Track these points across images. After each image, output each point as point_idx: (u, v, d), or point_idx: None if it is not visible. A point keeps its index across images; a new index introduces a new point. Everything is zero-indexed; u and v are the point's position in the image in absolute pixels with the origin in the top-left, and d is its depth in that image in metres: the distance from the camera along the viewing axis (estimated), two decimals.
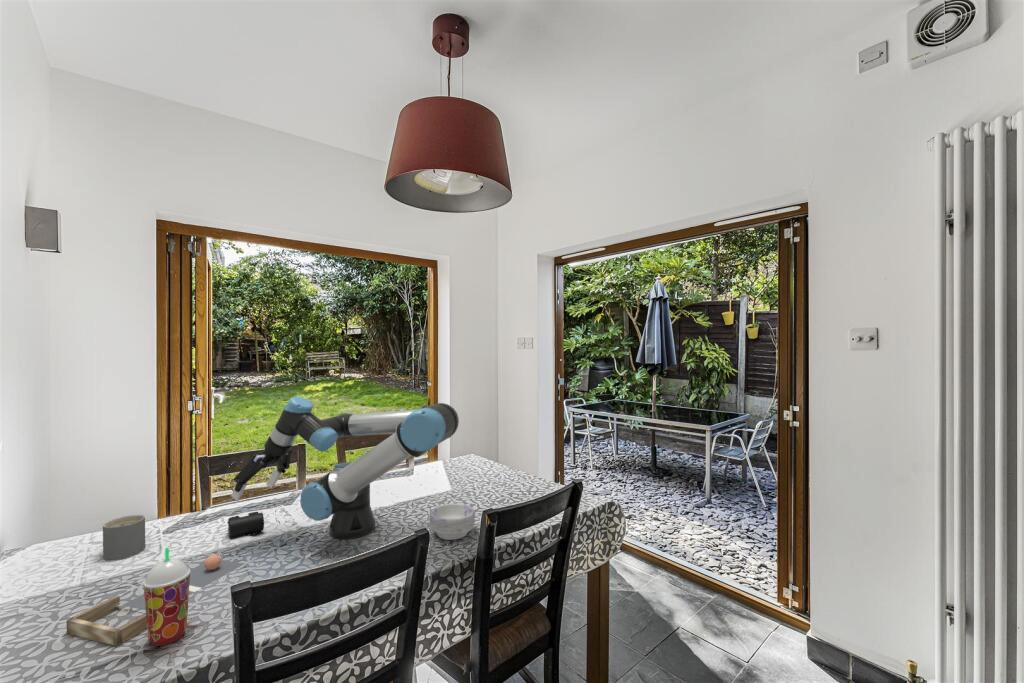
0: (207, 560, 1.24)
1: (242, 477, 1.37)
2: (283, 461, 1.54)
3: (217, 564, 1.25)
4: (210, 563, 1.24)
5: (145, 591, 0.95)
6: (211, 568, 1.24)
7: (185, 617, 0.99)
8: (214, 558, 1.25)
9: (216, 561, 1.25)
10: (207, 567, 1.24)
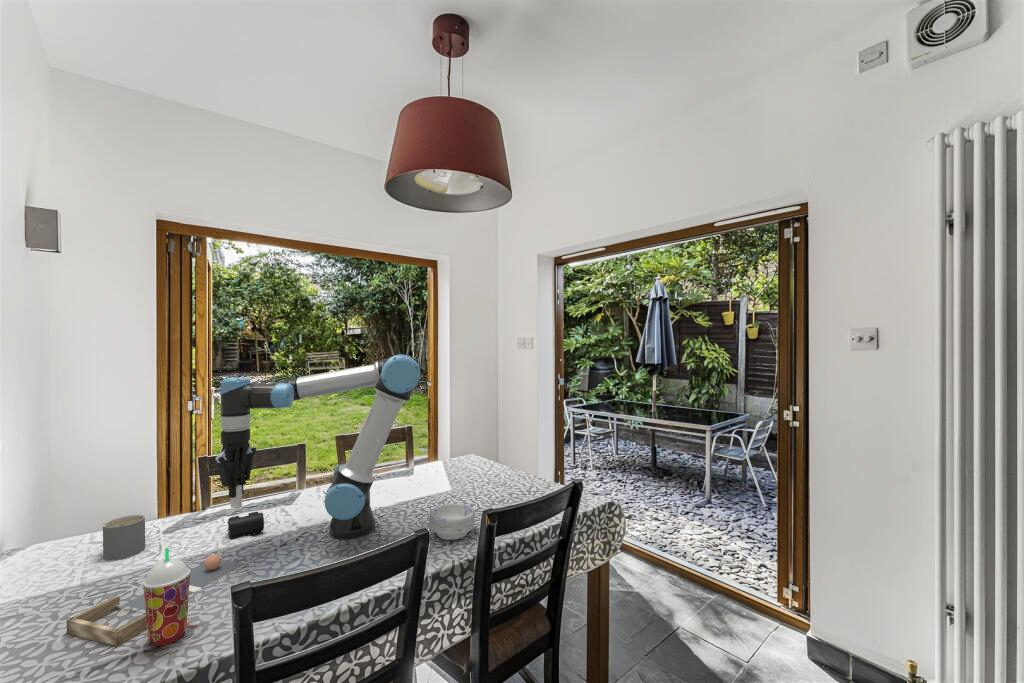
0: (207, 560, 1.24)
1: (225, 480, 1.29)
2: None
3: (217, 564, 1.25)
4: (210, 563, 1.24)
5: (145, 591, 0.95)
6: (211, 568, 1.24)
7: (185, 617, 0.99)
8: (214, 558, 1.25)
9: (216, 561, 1.25)
10: (207, 567, 1.24)
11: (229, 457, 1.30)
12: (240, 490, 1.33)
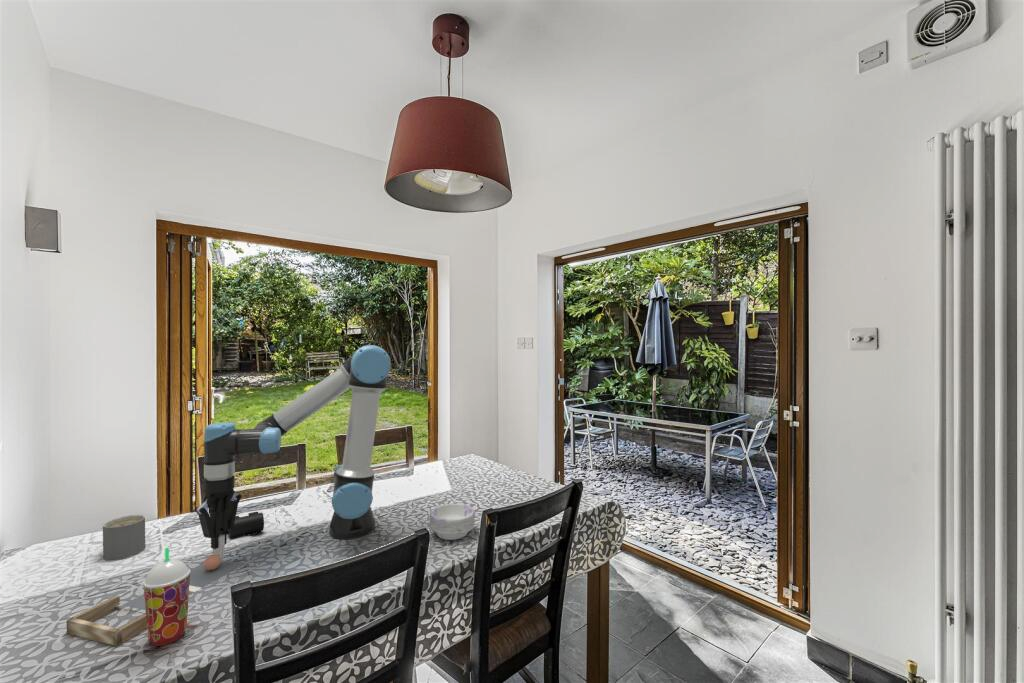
0: (207, 560, 1.24)
1: (207, 531, 1.24)
2: (227, 517, 1.31)
3: (217, 564, 1.25)
4: (210, 563, 1.24)
5: (145, 591, 0.95)
6: (211, 568, 1.24)
7: (185, 617, 0.99)
8: (214, 558, 1.25)
9: (216, 561, 1.25)
10: (207, 567, 1.24)
11: (211, 507, 1.25)
12: (223, 540, 1.28)
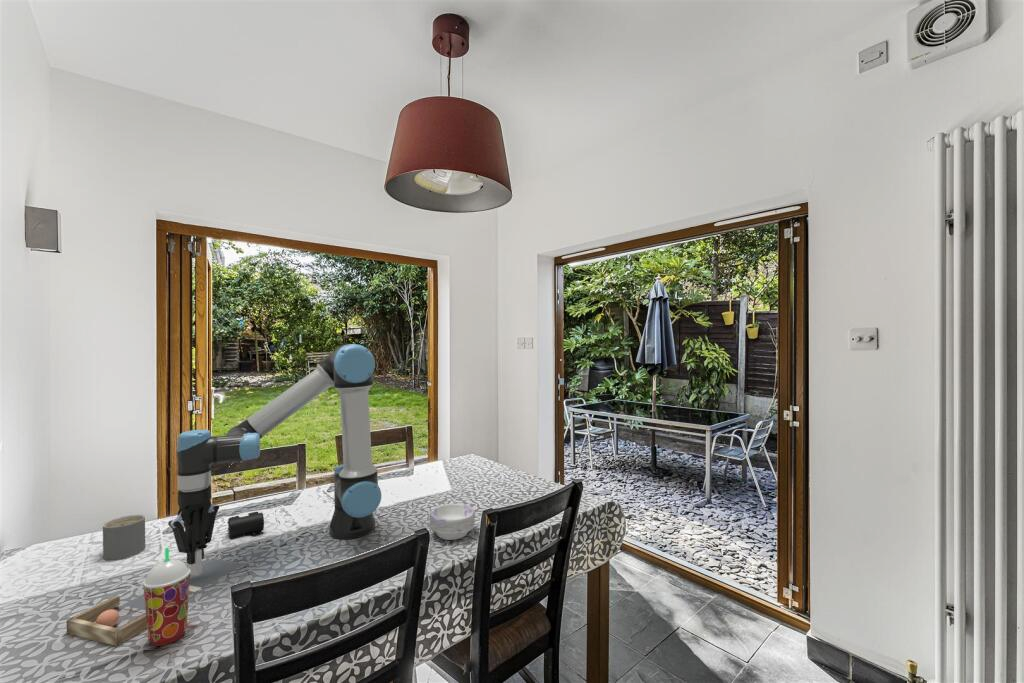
0: (98, 619, 1.00)
1: (182, 546, 1.17)
2: (204, 530, 1.24)
3: (113, 622, 1.01)
4: (103, 622, 1.00)
5: (145, 591, 0.95)
6: None
7: (185, 617, 0.99)
8: (108, 615, 1.01)
9: (111, 619, 1.01)
10: None
11: (186, 520, 1.18)
12: (200, 555, 1.21)
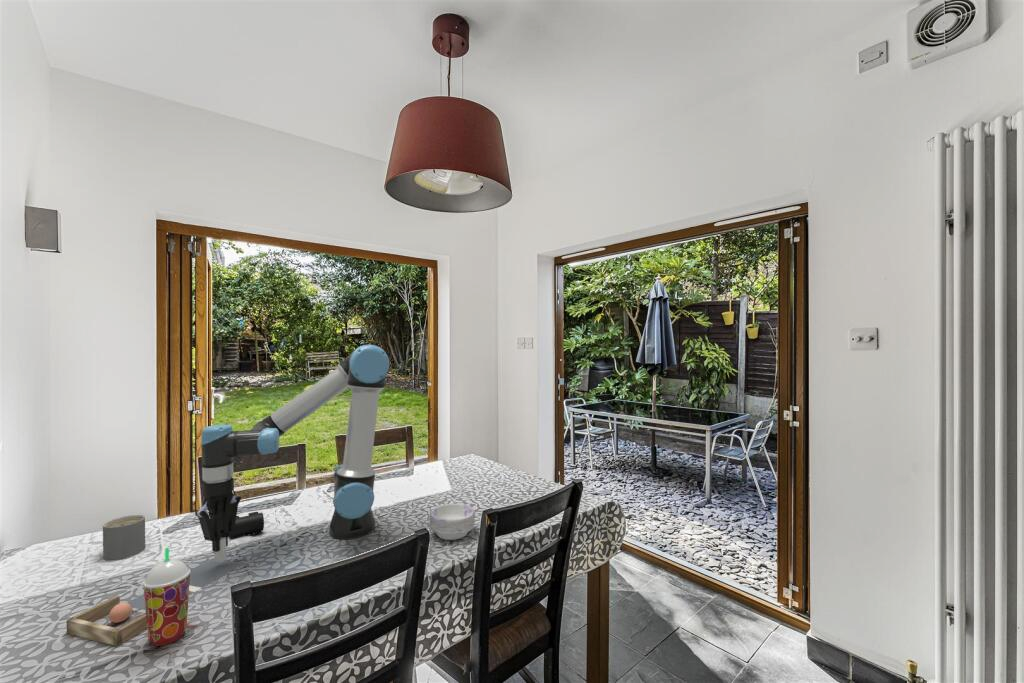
0: (122, 603, 1.05)
1: (208, 534, 1.23)
2: None
3: (125, 614, 1.03)
4: (124, 606, 1.04)
5: (145, 591, 0.95)
6: (117, 613, 1.03)
7: (185, 617, 0.99)
8: (130, 606, 1.05)
9: (128, 610, 1.04)
10: (115, 609, 1.03)
11: (211, 510, 1.24)
12: (224, 543, 1.27)
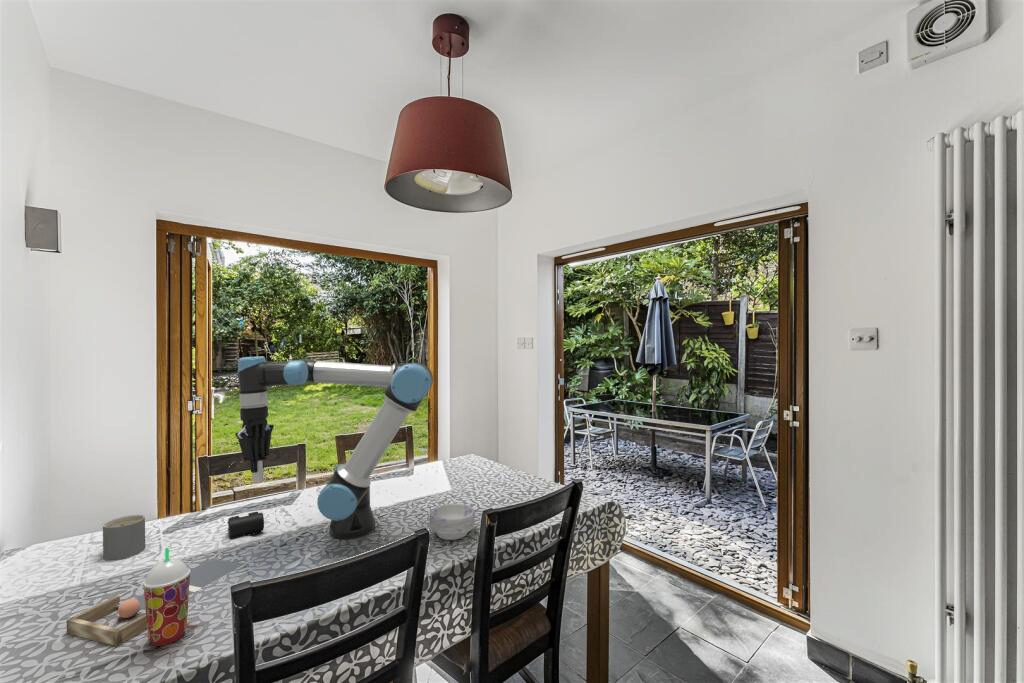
0: None
1: (248, 455, 1.33)
2: None
3: (134, 609, 1.05)
4: (138, 601, 1.07)
5: (145, 591, 0.95)
6: (131, 602, 1.05)
7: (185, 617, 0.99)
8: (139, 606, 1.07)
9: (138, 607, 1.06)
10: (132, 599, 1.06)
11: (250, 433, 1.34)
12: (261, 465, 1.37)
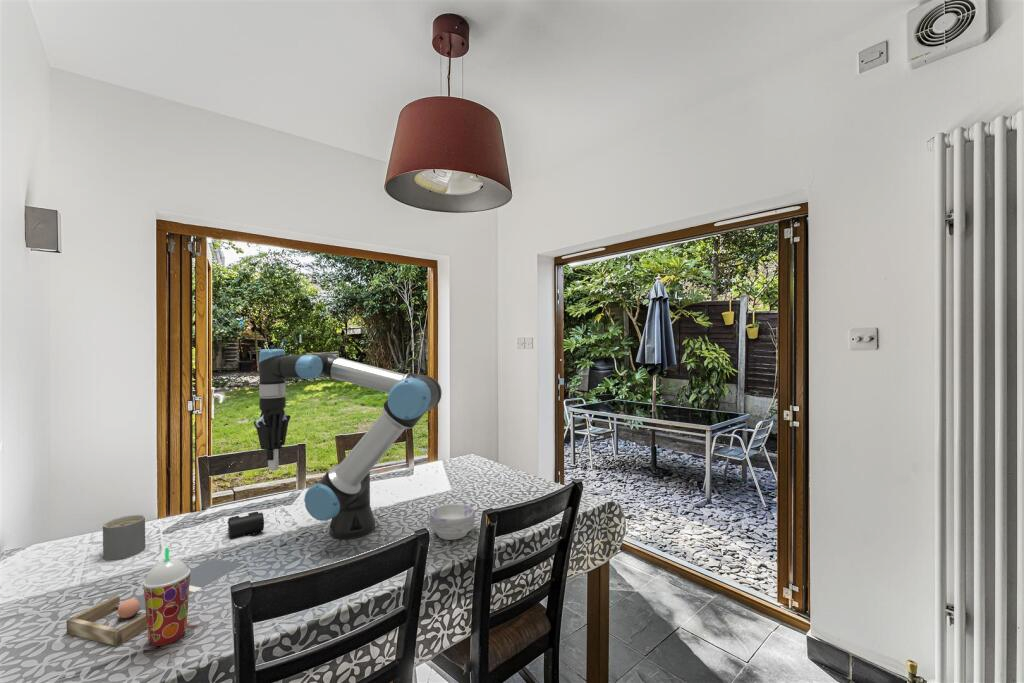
0: None
1: (264, 443, 1.39)
2: None
3: (133, 609, 1.05)
4: (138, 601, 1.07)
5: (145, 591, 0.95)
6: (131, 603, 1.05)
7: (185, 617, 0.99)
8: None
9: (137, 607, 1.06)
10: (131, 599, 1.06)
11: (267, 422, 1.40)
12: (277, 453, 1.43)
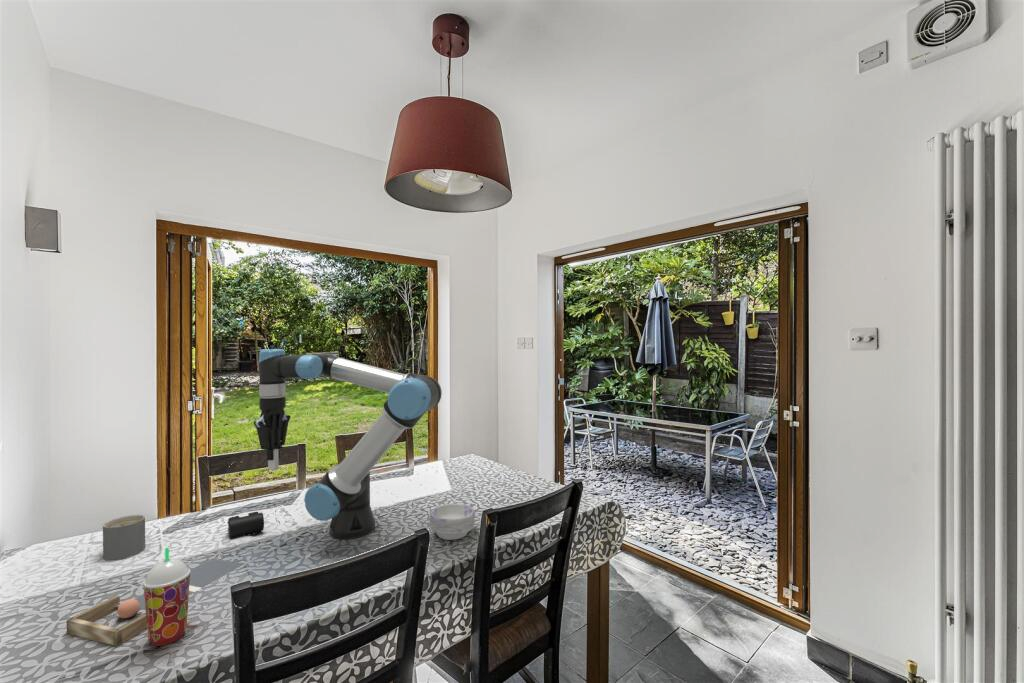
0: None
1: (264, 443, 1.39)
2: None
3: (133, 609, 1.05)
4: (137, 601, 1.07)
5: (145, 591, 0.95)
6: (130, 603, 1.05)
7: (185, 617, 0.99)
8: None
9: (137, 607, 1.06)
10: (131, 600, 1.06)
11: (267, 422, 1.40)
12: (277, 453, 1.43)
